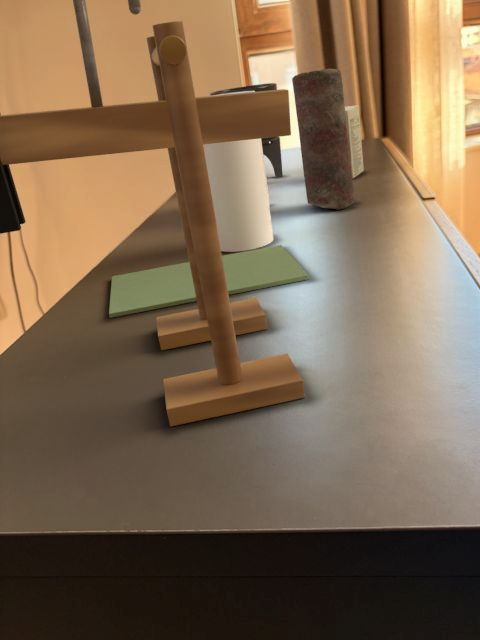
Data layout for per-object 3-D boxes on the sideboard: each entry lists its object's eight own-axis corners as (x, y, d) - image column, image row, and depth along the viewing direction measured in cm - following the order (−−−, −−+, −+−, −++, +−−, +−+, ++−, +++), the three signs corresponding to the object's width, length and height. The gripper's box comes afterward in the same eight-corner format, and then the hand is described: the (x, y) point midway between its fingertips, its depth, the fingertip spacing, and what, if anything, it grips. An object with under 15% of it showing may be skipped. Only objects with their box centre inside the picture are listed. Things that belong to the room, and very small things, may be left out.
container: (204, 203, 117) (185, 98, 109) (279, 197, 112) (266, 88, 105) (173, 225, 104) (150, 108, 97) (257, 219, 100) (239, 96, 92)
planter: (273, 171, 137) (262, 83, 130) (297, 178, 126) (286, 82, 119) (216, 183, 134) (202, 93, 127) (236, 191, 123) (221, 93, 115)
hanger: (-38, 166, 46) (-89, -25, 41) (286, 133, 50) (275, -47, 45) (-44, 169, 45) (-97, -29, 40) (291, 135, 48) (280, -51, 43)
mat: (112, 280, 81) (111, 276, 81) (281, 248, 83) (281, 244, 83) (109, 318, 68) (108, 313, 68) (308, 279, 71) (308, 275, 70)
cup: (202, 250, 88) (180, 128, 81) (238, 233, 94) (220, 118, 87) (250, 253, 83) (231, 124, 76) (285, 235, 89) (269, 114, 82)
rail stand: (159, 331, 63) (95, 46, 52) (258, 311, 64) (215, 29, 53) (170, 427, 46) (79, 32, 35) (305, 397, 47) (257, 7, 36)
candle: (302, 214, 99) (286, 74, 91) (311, 202, 105) (297, 71, 97) (351, 210, 97) (339, 67, 88) (358, 199, 103) (347, 64, 95)
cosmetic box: (343, 172, 126) (338, 106, 120) (364, 171, 123) (360, 104, 118) (331, 180, 121) (325, 111, 115) (352, 179, 118) (347, 109, 113)
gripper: (-88, -220, 32) (44, 243, 41) (-26, -134, 45) (63, 202, 55) (-251, -205, 31) (-76, 265, 40) (-138, -122, 44) (-27, 217, 54)
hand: (4, 228), depth 47 cm, fingers closed on hanger, 2 cm apart
